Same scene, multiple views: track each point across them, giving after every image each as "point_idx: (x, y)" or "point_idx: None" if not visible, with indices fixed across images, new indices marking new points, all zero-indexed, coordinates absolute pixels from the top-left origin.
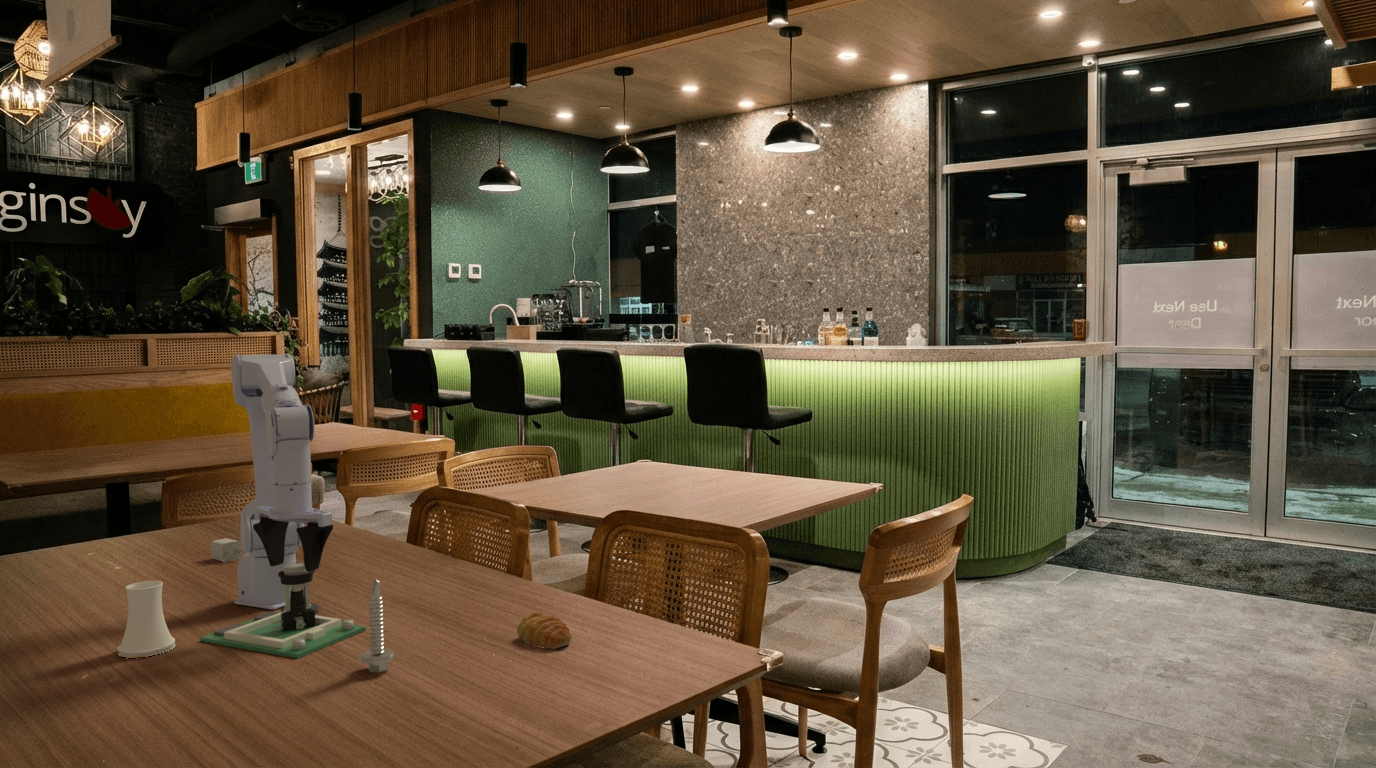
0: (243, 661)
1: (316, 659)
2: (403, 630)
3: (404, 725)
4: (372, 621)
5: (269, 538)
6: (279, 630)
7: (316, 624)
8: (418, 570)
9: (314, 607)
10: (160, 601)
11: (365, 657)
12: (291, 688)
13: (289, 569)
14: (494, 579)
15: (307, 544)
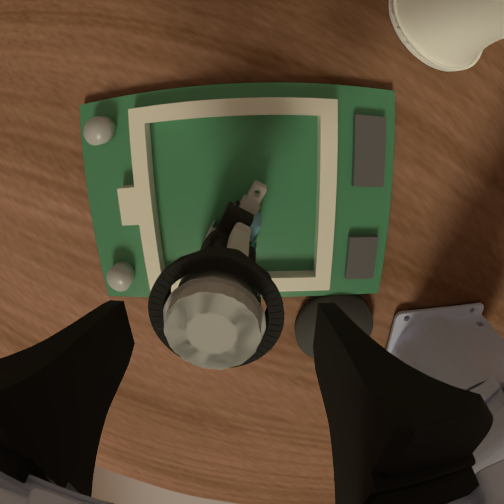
0: (173, 33)
1: (54, 124)
2: (64, 312)
3: None
4: None
5: (355, 393)
6: None
7: None
8: (300, 487)
9: (305, 343)
10: (476, 3)
11: None
12: (7, 28)
13: (195, 290)
14: (175, 484)
15: (20, 353)
